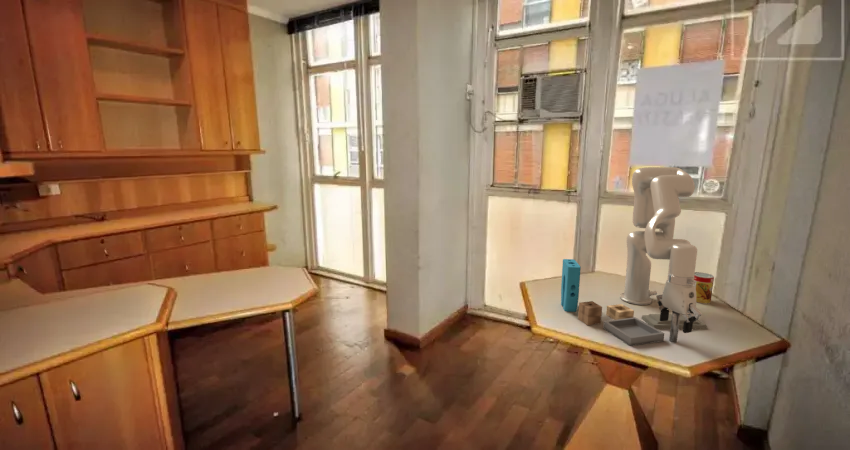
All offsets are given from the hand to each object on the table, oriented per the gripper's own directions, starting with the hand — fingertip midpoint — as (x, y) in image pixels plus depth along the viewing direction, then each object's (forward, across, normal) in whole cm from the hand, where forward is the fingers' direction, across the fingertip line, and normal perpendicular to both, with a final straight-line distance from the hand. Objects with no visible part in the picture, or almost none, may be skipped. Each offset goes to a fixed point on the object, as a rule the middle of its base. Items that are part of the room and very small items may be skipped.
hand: (675, 326), depth 139 cm
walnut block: (+6, +22, +18) cm, 29 cm away
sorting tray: (+6, +8, +10) cm, 14 cm away
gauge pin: (+6, 0, 0) cm, 6 cm away
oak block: (+6, +22, +4) cm, 23 cm away
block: (+6, +36, +18) cm, 41 cm away
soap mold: (+7, +12, -12) cm, 18 cm away
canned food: (+6, +28, -43) cm, 52 cm away
